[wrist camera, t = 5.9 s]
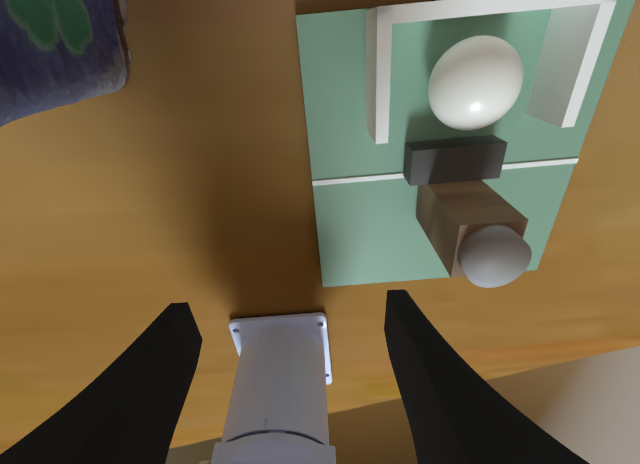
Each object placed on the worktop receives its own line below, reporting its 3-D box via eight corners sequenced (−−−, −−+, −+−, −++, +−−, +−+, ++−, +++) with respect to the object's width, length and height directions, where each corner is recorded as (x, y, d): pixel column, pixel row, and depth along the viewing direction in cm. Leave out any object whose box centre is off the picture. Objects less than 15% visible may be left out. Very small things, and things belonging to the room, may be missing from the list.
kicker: (477, 212, 21) (545, 284, 15) (400, 218, 21) (437, 293, 15) (493, 135, 18) (585, 185, 12) (405, 142, 18) (452, 196, 12)
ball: (535, 129, 14) (554, 21, 12) (443, 137, 14) (449, 31, 12) (488, 123, 17) (498, 40, 16) (415, 130, 17) (418, 47, 16)
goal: (535, 113, 18) (573, 126, 15) (366, 128, 18) (375, 144, 15) (568, -9, 15) (622, -18, 12) (365, 11, 15) (377, 6, 12)
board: (531, 265, 24) (537, 270, 23) (322, 282, 24) (322, 288, 24) (630, -17, 15) (643, -19, 14) (296, 15, 15) (295, 15, 15)
